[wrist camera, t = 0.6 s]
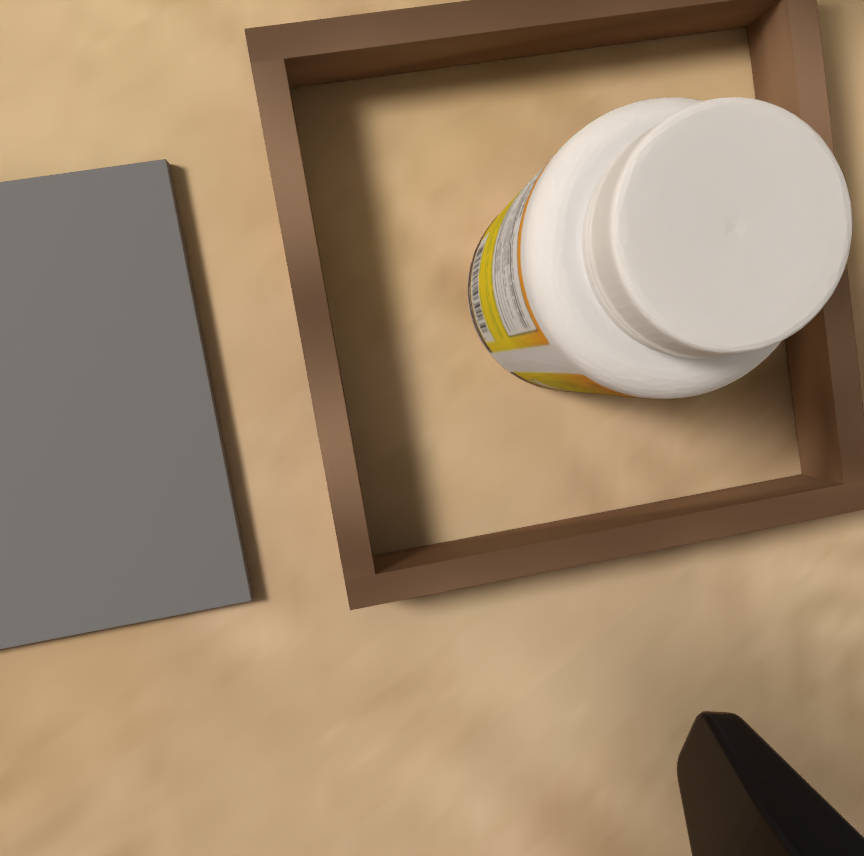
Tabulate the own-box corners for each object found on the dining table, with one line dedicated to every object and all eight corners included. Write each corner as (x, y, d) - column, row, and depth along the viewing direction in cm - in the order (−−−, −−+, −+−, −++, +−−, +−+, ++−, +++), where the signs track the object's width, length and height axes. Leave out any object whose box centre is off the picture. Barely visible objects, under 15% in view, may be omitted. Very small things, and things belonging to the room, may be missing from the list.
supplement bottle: (691, 303, 23) (971, 250, 12) (548, 429, 22) (713, 480, 12) (570, 150, 22) (763, -39, 12) (422, 279, 22) (485, 203, 12)
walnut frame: (829, 495, 23) (874, 507, 21) (350, 588, 22) (350, 610, 20) (769, -6, 22) (811, -43, 20) (254, 61, 21) (244, 29, 19)
